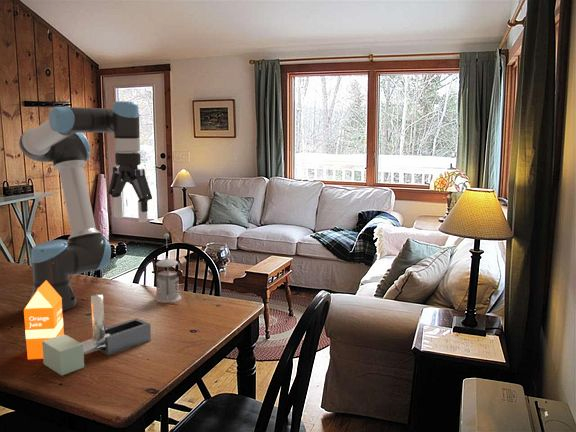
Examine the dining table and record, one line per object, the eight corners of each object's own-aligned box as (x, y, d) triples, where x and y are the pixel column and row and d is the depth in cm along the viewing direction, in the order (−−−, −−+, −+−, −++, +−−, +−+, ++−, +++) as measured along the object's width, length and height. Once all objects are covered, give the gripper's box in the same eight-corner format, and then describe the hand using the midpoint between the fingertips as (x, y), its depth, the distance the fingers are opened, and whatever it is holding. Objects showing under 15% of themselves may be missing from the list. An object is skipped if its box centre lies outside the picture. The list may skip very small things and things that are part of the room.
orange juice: (27, 359, 140) (21, 290, 136) (37, 346, 148) (32, 280, 145) (57, 357, 141) (52, 288, 137) (65, 344, 149) (61, 279, 146)
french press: (182, 293, 197) (180, 230, 192) (180, 303, 185) (179, 237, 181) (156, 294, 195) (153, 231, 191) (153, 304, 184) (151, 237, 180)
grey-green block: (65, 356, 142) (64, 334, 141) (84, 367, 135) (82, 344, 134) (43, 364, 137) (41, 341, 136) (61, 375, 131) (60, 351, 130)
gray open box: (136, 333, 158) (136, 318, 157) (150, 340, 153) (150, 323, 152) (94, 348, 147) (93, 331, 146) (108, 355, 142) (107, 338, 141)
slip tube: (105, 343, 147) (103, 291, 145) (112, 347, 145) (110, 294, 143) (58, 360, 137) (55, 304, 134) (65, 363, 135) (61, 307, 132)
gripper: (162, 153, 152) (164, 222, 156) (116, 150, 168) (118, 213, 171) (141, 154, 147) (143, 226, 150) (95, 151, 162) (98, 216, 166)
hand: (130, 219), depth 161 cm, fingers open, 13 cm apart
